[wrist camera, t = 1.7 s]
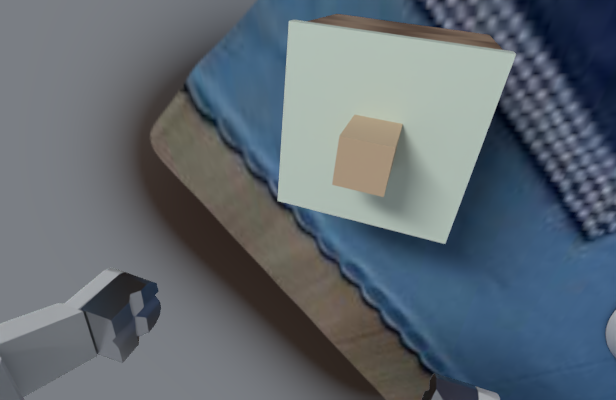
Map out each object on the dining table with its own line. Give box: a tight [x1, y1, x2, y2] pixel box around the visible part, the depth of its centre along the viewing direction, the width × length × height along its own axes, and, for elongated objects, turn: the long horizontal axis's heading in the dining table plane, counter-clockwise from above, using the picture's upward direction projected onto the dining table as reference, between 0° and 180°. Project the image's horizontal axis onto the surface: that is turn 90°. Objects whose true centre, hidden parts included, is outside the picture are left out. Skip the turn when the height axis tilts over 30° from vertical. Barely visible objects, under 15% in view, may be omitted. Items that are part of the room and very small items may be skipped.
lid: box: [278, 20, 516, 244], centre depth 22 cm, size 12×12×5 cm
